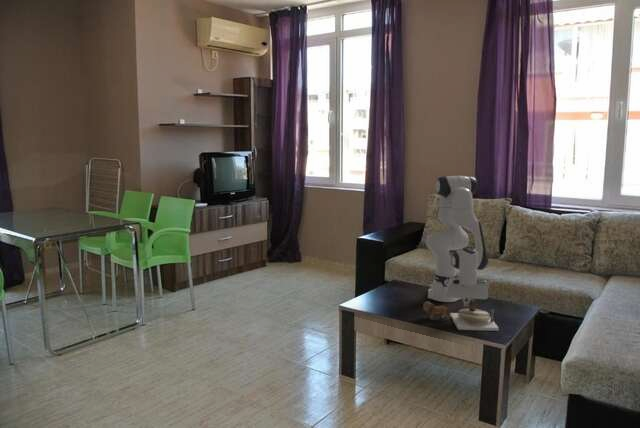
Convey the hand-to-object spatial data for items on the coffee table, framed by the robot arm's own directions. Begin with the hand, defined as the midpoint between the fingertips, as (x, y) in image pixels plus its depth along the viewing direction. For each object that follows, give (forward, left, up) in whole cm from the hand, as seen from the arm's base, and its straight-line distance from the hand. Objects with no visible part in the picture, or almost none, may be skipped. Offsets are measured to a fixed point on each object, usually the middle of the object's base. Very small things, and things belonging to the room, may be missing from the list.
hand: (466, 306), depth 259 cm
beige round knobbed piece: (+5, +3, -3) cm, 6 cm away
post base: (+6, +2, -7) cm, 9 cm away
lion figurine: (+1, -15, -7) cm, 16 cm away
